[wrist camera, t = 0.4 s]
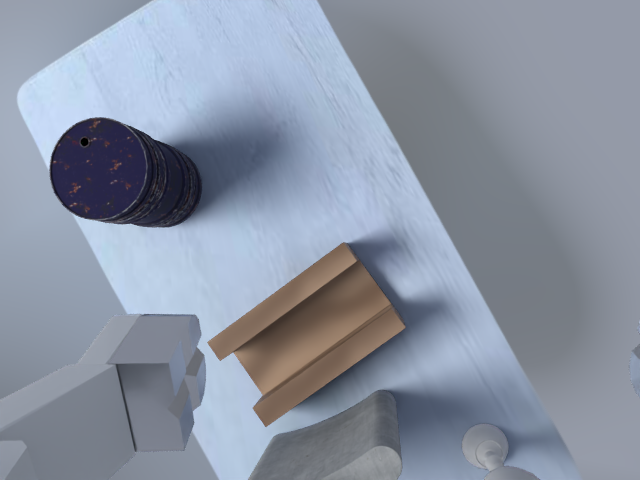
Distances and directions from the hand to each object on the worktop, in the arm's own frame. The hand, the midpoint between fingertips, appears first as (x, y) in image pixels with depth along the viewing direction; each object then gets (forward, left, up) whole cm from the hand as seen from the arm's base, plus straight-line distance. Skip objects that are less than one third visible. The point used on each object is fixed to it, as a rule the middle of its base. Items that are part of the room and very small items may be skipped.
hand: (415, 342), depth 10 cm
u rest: (-1, +11, -51) cm, 52 cm away
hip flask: (-12, +16, -51) cm, 55 cm away
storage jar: (+23, +16, -51) cm, 59 cm away
